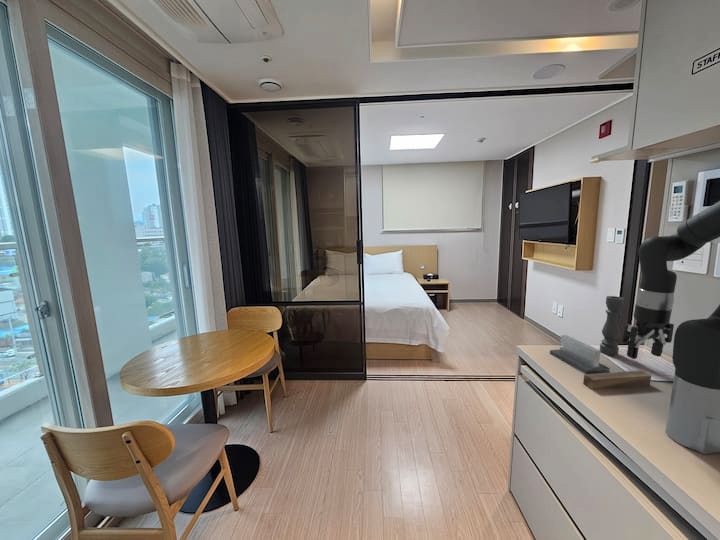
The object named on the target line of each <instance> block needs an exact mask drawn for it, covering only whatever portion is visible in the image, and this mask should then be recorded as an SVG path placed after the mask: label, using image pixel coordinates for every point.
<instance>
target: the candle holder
mask: <svg viewBox="0 0 720 540" xmlns="http://www.w3.org/2000/svg"><path fill="white" fill-rule="evenodd" d="M605 298H606V299H605V304H606V305H605V306H606V308H607V309H605V313H606V320H605V322H604V325H603V326H602V329H601V333H602V336H603V339H602V340H601V343H599V350H600V354H602V353H603V355H605V356H609V357H617V356H619V351H620V350H619V348H620V347H619V343H618V341H617V340H618V339H619V338H620V337H621V330H620V329H621V328H620V325H619V319H620V315H622V311H621V309H622V308H623V307H624V303H625V302H624V301H625V298H624V297H621V296H615V295H614V296H613V295H607V296H606V297H605Z"/></svg>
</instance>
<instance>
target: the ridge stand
mask: <svg viewBox="0 0 720 540" xmlns="http://www.w3.org/2000/svg"><path fill="white" fill-rule="evenodd" d="M559 345H560V346H563V347H560V346H559V349H550V350H549V354H550V355H551V356H553V357H555V358H557V359H559V360H560V359H561V360H560V361H562V362H564V363H566V364H567V365H569V366H571V367H573V368H574V369H576V370H577V371H579V372H581V371H582V372H581V373H583V374H584V375H585V374H599V373H610V370H611V368H610V367H608V366H607V365H604V364H603V363H600V359H601V352H600V349H598V348H595V347H593V346H591V345H590V344H586V343H585V342H583V341H580V340H578V339H576V338H573V337H572V336H569V335H567V334H566V335H565V334H563V335H562V334H561V335H560V344H559Z"/></svg>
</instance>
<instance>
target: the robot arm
mask: <svg viewBox="0 0 720 540" xmlns="http://www.w3.org/2000/svg"><path fill="white" fill-rule="evenodd" d="M719 238H720V200H718V201H717V202H715V203H714V204H712V205H711V206H708V207H707V208H705V209H703V210H702V211H700V212H698V213H696V214H694V215H693V216H691V217H690V218H688V219H687V220H684V221H683V222H682V223H680V224H679V225H678V226H677V228H676V232H675V233H674V234H672V235H665V236H664V235H663V236H662V235H661V236H657V235H656V236H651V237H647V238H646V239H644V241H643V242H642V243H641V244H640V246H639V249H638V260H639V267H640V272H641V279H640V283H639V288H638V292H637V295H636V299H635V303H634V304H635V305H634V312H633V318H634V320H636V323H635V324H634V325H633V324H629V323H626V324H625V327H624V332H623V335H622V336H623V337H622V341H621V342H622V344H625V345H627V351H626V355H627V357H628V358H630V359H632V360H637V359H638V354H639V349H640V348H639V347H640V346H641V345H642V343H646V342H647V340H651V339H652V341H653V342H652V347H651V350H650V351H651V352H650V354H651V355H653V356H655V357H662V354H663V351H664V350H663V349H664V346H665V345H666V344H667V343H672V340H673V347H672V364H673V366H674V368H675V369H674V376H673V383H672V387H671V393H670V394H671V395H670V402H669V407H668V411H667V412H668V414H667V420H666V425H665V433H666V435H667V436H668V437H669V438H670V439H671V440H673V441H674V442H676V443H678V444H679V445H681V446H683V447H686V448H688V449H691V450H694V451H696V452H698V453H700V454H702V455H710V454H715V453H720V304H719V305H718V306H717V307H716V309H715V310H714V311H713V312H712V313H711V314H710V315H709V316H708V317H707V318H697V319H690V320H689V319H688V320H685V321H683V322H681V323H680V324H679V325H678V326H677V327H676V329H675V333H674V327H675V324H674V323H671V322H670V321H671V315H672V312H673V307H674V299H675V290H676V284H677V279H678V278H677V277H678V276H677V273H676V272H674V271H672V270H669V269H668V263H667V262H675V261H680V260H683V259H685V258H688V257H689V256H691V255H693V254H694V253H695V252H697V251H698V250H700V249H701V248H703V247H704V246H705V245H706V244H707V243H710V242H713V241H715V240H717V239H719ZM673 334H674V337H673ZM665 335H666V336H665Z"/></svg>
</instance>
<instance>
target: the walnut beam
mask: <svg viewBox="0 0 720 540" xmlns="http://www.w3.org/2000/svg"><path fill="white" fill-rule="evenodd" d="M651 380H652V375H651V374H650V373H648V372H644V371H642V370H631V371H616V372H603V373H593V374H585V373H584V375H583V380H582V381H583V383H582V384H583V386H585V387H587V388H588V389H590V390H603V389H616V388H631V387H632V388H633V387H643V386H650V385H651Z"/></svg>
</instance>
